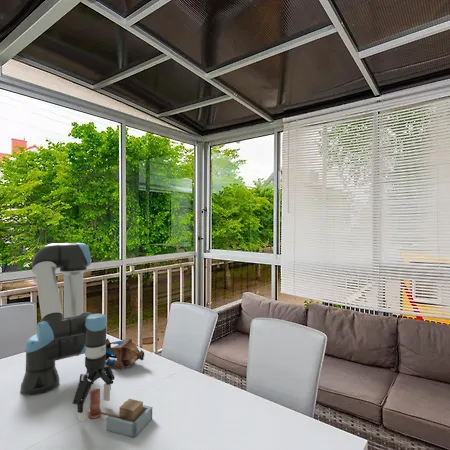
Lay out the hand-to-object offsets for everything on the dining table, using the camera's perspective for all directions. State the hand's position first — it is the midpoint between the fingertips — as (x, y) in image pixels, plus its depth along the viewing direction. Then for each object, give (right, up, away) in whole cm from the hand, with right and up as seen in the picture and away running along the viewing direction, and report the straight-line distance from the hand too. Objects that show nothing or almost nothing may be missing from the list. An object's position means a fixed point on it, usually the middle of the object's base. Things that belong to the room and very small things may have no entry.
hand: (94, 409), depth 122 cm
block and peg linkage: (+8, -2, -3) cm, 9 cm away
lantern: (-4, -2, +42) cm, 43 cm away
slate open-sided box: (+15, -3, -5) cm, 16 cm away
